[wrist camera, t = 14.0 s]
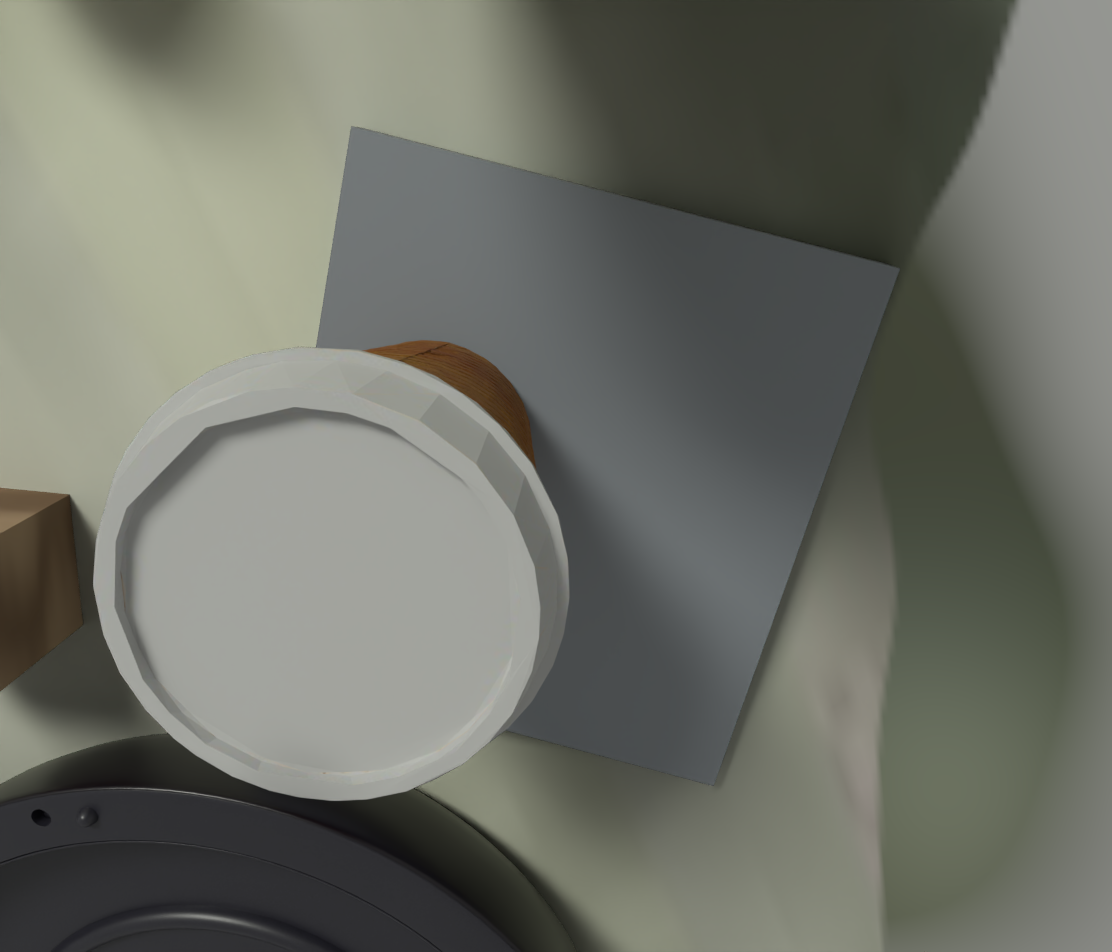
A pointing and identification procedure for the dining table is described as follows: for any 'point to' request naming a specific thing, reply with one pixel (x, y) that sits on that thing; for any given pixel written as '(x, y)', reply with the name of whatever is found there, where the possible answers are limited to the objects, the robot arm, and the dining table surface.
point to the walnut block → (35, 578)
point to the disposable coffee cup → (334, 567)
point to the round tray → (244, 865)
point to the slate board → (626, 412)
